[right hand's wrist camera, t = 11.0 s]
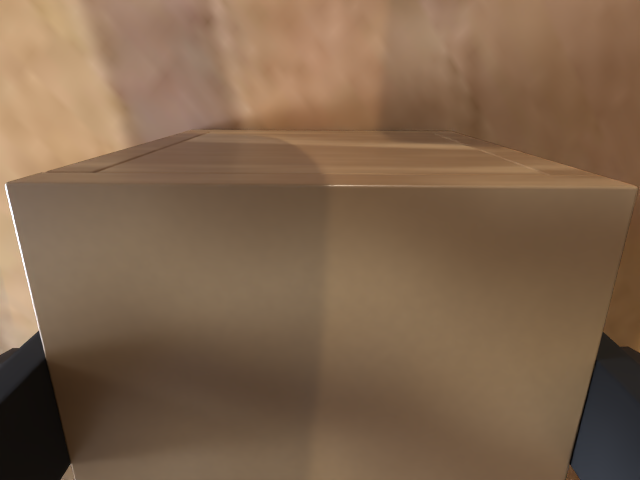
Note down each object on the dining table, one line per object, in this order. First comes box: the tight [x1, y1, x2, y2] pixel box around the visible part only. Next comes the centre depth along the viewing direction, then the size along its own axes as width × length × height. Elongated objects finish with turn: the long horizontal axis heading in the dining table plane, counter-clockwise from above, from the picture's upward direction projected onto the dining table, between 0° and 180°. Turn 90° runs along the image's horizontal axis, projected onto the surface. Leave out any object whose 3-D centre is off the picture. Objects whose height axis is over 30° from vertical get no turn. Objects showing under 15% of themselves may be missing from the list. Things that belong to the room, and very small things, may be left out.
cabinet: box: [5, 130, 638, 480], centre depth 16 cm, size 22×11×11 cm, turn 0°
